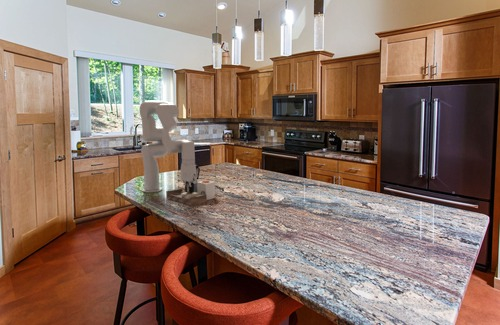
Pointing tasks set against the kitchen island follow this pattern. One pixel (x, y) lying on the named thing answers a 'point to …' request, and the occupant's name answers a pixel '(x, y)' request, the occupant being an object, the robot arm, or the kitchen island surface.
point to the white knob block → (206, 189)
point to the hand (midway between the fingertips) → (189, 192)
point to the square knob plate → (187, 194)
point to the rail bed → (192, 201)
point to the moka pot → (197, 178)
